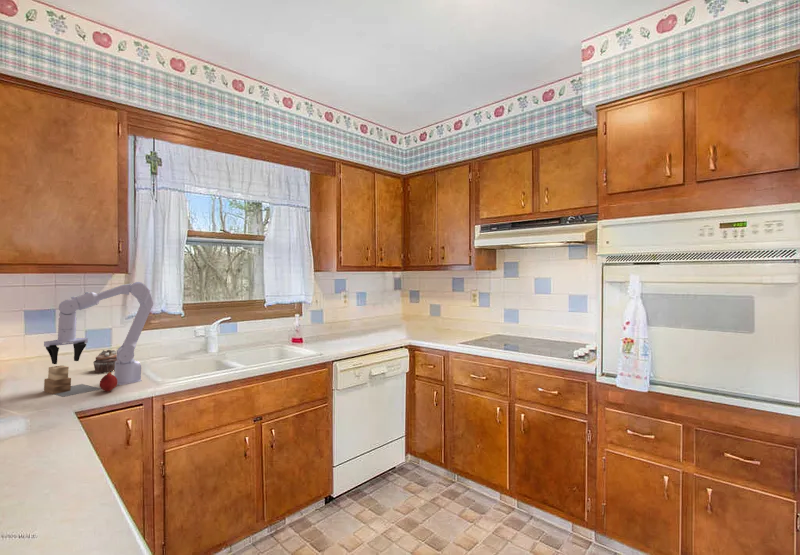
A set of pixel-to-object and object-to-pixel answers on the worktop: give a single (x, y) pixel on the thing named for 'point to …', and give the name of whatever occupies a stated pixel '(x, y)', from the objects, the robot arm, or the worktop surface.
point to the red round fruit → (108, 382)
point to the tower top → (57, 382)
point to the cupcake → (105, 361)
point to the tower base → (57, 389)
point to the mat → (77, 390)
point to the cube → (58, 372)
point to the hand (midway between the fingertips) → (65, 362)
